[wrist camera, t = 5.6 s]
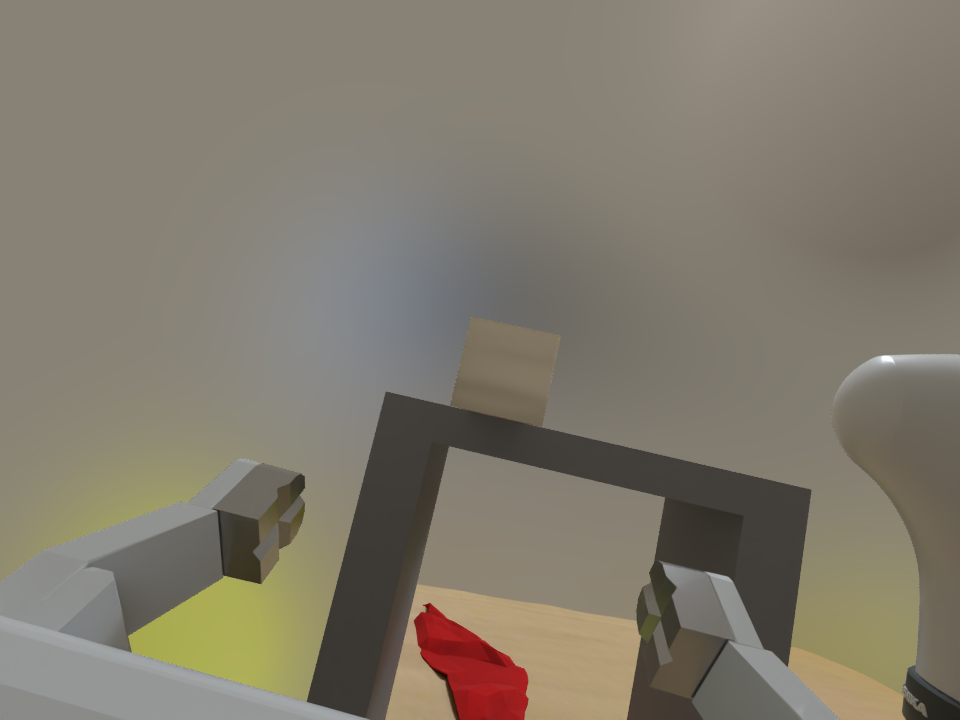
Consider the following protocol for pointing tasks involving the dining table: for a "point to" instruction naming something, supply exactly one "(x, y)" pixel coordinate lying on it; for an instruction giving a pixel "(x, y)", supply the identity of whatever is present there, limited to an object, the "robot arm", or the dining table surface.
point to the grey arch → (434, 427)
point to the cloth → (472, 669)
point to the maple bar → (506, 371)
